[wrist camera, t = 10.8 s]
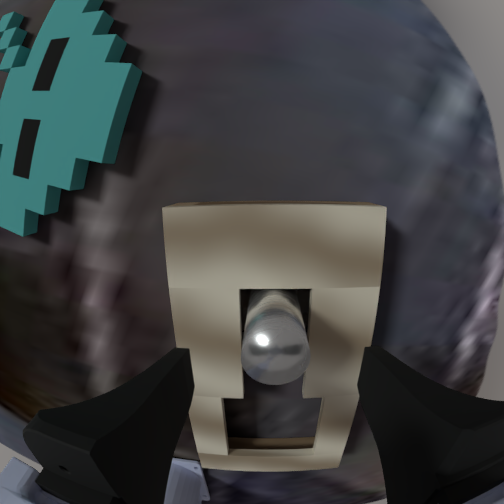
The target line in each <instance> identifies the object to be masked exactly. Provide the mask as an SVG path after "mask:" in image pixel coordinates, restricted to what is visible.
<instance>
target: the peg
mask: <svg viewBox="0 0 504 504" xmlns="http://www.w3.org/2000/svg"><path fill="white" fill-rule="evenodd" d="M240 292H241V322H242V329H243V330H244V337H243V344H242V350H241V364H242V366H243V369H244V370H245V372H246V373H247V374H248V375H249V376H250V377H251V378H253V379H254V380H256V381H258V382H261V383H264V384H269V385H281V384H286V383H289V382H291V381H293V380H295V379H297V378H298V377H300V376H301V375H302V374H303V373H304V372H305V371H306V369H307V368H308V366H309V363H310V358H311V354H310V348H309V344H308V339H307V335H306V331H305V327H306V326H307V325H308V318H309V301H310V289H240Z"/></svg>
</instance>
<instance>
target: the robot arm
mask: <svg viewBox="0 0 504 504" xmlns="http://www.w3.org/2000/svg"><path fill="white" fill-rule="evenodd" d="M357 387H358V392H359V396H360V401H361V404H362V407H363V410H364V412H365V415H366V418H367V420H368V423H369V425H370V428H371V430H372V433H373V436H374V438H375V441H376V444H377V447H378V450H379V455H380V459H381V464H382V469H383V474H384V480H385V487H386V495H387V504H504V401H494V400H488V399H483V398H478V397H474V396H470V395H467V394H464V393H461V392H458V391H455V390H452V389H450V388H447V387H445V386H443V385H441V384H438V383H436V382H434V381H432V380H430V379H429V378H427V377H425V376H423V375H422V374H420V373H418V372H417V371H415V370H413V369H412V368H410V367H409V366H407V365H406V364H404V363H403V362H401V361H400V360H399V359H397V358H396V357H394V356H393V355H391V354H390V353H389V352H387V351H386V350H384V349H383V348H381V347H379V346H370V347H365V348H364V353H363V358H362V363H361V368H360V373H359V378H358V382H357ZM194 388H195V384H194V377H193V371H192V364H191V357H190V350H189V348H174V349H172V350H171V351H170V352H169V353H167V354H166V355H165V356H163V357H162V358H161V359H160V360H158V361H157V362H156V363H154V364H153V365H152V366H150V367H149V368H148V369H146V370H145V371H143V372H142V373H140V374H139V375H137V376H136V377H134V378H133V379H131V380H130V381H128V382H127V383H125V384H123V385H121V386H119V387H117V388H116V389H114V390H112V391H109V392H107V393H105V394H102V395H100V396H97V397H95V398H92V399H90V400H87V401H83V402H80V403H77V404H73V405H69V406H64V407H58V408H52V409H45V410H40V411H39V412H38V413H37V414H36V415H35V417H34V418H33V419H32V420H31V421H30V423H29V424H28V425H27V426H26V427H25V429H24V430H23V437H24V440H25V442H26V444H27V446H28V448H29V449H30V450H31V452H32V453H33V455H34V456H35V457H36V459H37V460H38V461H39V463H40V464H41V465H42V467H43V470H42V472H41V473H39V472H38V471H37V470H36V469H34V468H33V467H31V466H29V465H27V464H26V463H24V462H22V461H20V460H19V459H17V458H15V457H13V458H12V459H11V460H10V462H9V463H8V464H7V466H6V467H5V468H4V470H3V471H2V472H1V474H0V504H201V502H202V500H206V501H208V500H210V495H209V491H208V488H207V484H206V481H205V477H204V473H203V470H202V466H201V463H200V462H198V461H193V460H185V459H178V458H173V454H174V451H175V448H176V444H177V442H178V439H179V436H180V434H181V431H182V428H183V426H184V423H185V420H186V418H187V415H188V412H189V409H190V407H191V403H192V398H193V393H194Z"/></svg>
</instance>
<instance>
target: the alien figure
mask: <svg viewBox="0 0 504 504" xmlns="http://www.w3.org/2000/svg"><path fill="white" fill-rule="evenodd" d="M102 2H103V0H55V2H54V4H53V6H52V8H51V9H50V11H49V13H48V15H47V17H46V19H45V21H44V23H43V25H42V27H41V29H40V31H39V34H38V36H37V38H36V40H35V42H34V45H33V47H32V50H31V49H29V48H26V47H24V46H21V45H22V43H23V41H24V38H25V36H26V34H27V31H24V30H22V29H20V28H19V26H20V24H21V22H22V20H23V18H24V16H22V15H20V14H18V13H16V12H12V13H9V14H6V15H4V16H3V17H2V19H1V21H0V36H1V37H2V38H1V40H0V52H1V53H4V54H5V55H4V57H3V60H2V62H1V65H0V70H1V71H4V72H8V73H9V75H8V78H7V81H6V84H5V87H4V90H3V93H2V97H1V100H0V226H1V227H3V228H5V229H7V230H9V231H12V232H14V233H16V234H18V235H21V236H23V237H24V236H27V235H30V234H33V233H36V232H37V227H38V215H39V214H42V215H47V214H51V213H55V212H58V208H59V201H60V194H61V188H62V189H65V190H69V191H70V190H79V189H84V185H85V179H86V174H87V169H88V165H89V161H94V162H99V163H109V164H115V161H116V157H117V153H118V149H119V145H120V141H121V137H122V134H123V130H124V126H125V123H126V120H127V116H128V113H129V110H130V107H131V103H132V100H133V97H134V94H135V91H136V88H137V86H138V83H139V80H140V77H141V74H142V71H141V70H140V69H138V68H137V67H136V66H135V65H133V64H132V63H119V61H120V59H121V56H122V54H123V52H124V49H125V47H126V44H127V43H126V42H125V41H124V40H123V39H121V38H120V37H119V36H118V35H117V34H108V32H109V29H110V27H111V25H112V23H113V21H114V19H113V18H112V17H111V16H109V15H108V14H107V13H106V12H105V11H98V10H99V8H100V6H101V4H102Z"/></svg>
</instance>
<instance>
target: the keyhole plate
mask: <svg viewBox="0 0 504 504" xmlns="http://www.w3.org/2000/svg"><path fill="white" fill-rule="evenodd" d="M386 209H387V207H384V206H380V205H377V204H373V203H369V202H340V201H223V202H191V203H177V204H173V205H170V206H167V207H164V208H162V211H163V227H164V241H165V253H166V264H167V274H168V284H169V293H170V301H171V309H172V317H173V324H174V331H175V338H176V345H177V348H189V350H190V357H191V364H192V371H193V377H194V384H195V388H194V393H193V398H192V403H191V407H190V409H189V416H190V420H191V425H192V429H193V434H194V438H195V442H196V446H197V450H198V454H199V458H200V462H201V466H202V468H211V469H222V470H237V471H301V470H316V469H327V468H336V467H338V466H339V463H340V460H341V457H342V454H343V451H344V448H345V445H346V442H347V439H348V436H349V432H350V429H351V426H352V422H353V419H354V415H355V411H356V408H357V404H358V400H359V392H358V387H357V382H358V378H359V373H360V368H361V363H362V358H363V353H364V348H365V347H370V346H371V342H372V336H373V331H374V325H375V319H376V312H377V306H378V299H379V291H380V283H381V275H382V265H383V255H384V243H385V229H386ZM240 289H310V301H309V318H308V332H307V339H308V344H309V348H310V354H311V358H310V363H309V366H308V368H307V369H306V371H305V372H304V379H303V388H302V393H303V398H318V397H322V402H321V408H320V414H319V419H318V425H317V430H316V435H315V437H301V438H237V437H228V436H227V428H226V418H225V409H224V399H223V398H242V399H243V397H244V375H243V366H242V364H241V350H242V322H241V292H240Z"/></svg>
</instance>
